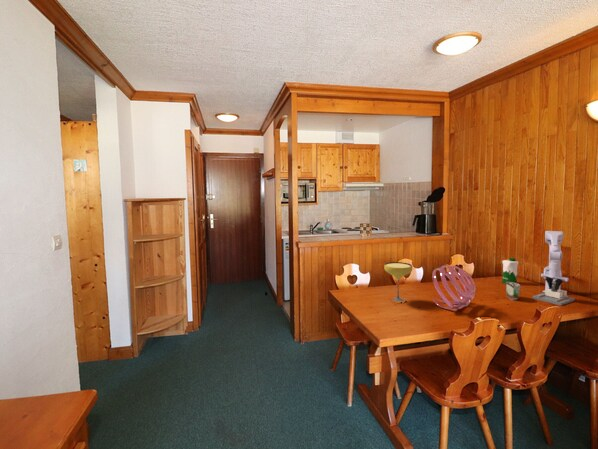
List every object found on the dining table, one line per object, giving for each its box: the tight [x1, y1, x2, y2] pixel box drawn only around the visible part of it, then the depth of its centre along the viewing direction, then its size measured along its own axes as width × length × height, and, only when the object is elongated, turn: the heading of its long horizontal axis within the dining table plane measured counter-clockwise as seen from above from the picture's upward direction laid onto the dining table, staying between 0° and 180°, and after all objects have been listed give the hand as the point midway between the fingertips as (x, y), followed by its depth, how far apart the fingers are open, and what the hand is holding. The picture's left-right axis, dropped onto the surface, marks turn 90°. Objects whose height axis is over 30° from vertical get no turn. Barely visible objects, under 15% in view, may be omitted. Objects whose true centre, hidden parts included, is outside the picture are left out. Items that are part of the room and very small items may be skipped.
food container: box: [505, 282, 521, 302], centre depth 211 cm, size 12×6×10 cm, turn 168°
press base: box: [532, 289, 576, 306], centre depth 207 cm, size 18×16×6 cm
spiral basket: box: [431, 264, 476, 311], centre depth 198 cm, size 28×28×27 cm
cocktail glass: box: [383, 261, 413, 301], centre depth 211 cm, size 18×18×25 cm
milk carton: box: [501, 257, 519, 284], centre depth 245 cm, size 9×9×20 cm
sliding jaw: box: [544, 283, 563, 299], centre depth 207 cm, size 4×8×9 cm, turn 27°
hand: (553, 289), depth 207 cm, fingers closed on sliding jaw, 3 cm apart
